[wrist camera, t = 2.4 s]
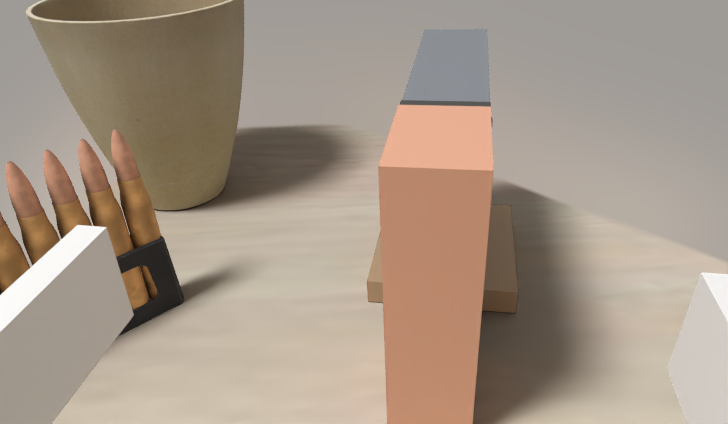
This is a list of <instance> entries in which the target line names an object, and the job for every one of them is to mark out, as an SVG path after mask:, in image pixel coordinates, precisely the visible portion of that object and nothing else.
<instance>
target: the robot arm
mask: <svg viewBox="0 0 728 424" xmlns="http://www.w3.org/2000/svg"><path fill="white" fill-rule="evenodd" d="M133 316H134V314H133V311H132V307H131V304H130V301H129V298H128V294H127V291H126V288H125V285H124V282H123V278H122V275H121V272H120V269H119V265H118V262H117V259H116V256H115V253H114V249H113V246H112V243H111V240H110V236H109V233H108V230H107V227H99V226H86V225H77V226H76V227H75V228H74V229H72V230H71V231H70V232H69V233H68V234H67V235H66V236H65V237H64V238H63V239H62V240H60V241H59V242H58V243H57V244H56V245H55V246H54V247H53V248H52V249H50V250H49V251H48V252H47V253H46V254H45V255H44V256H43V257H42V258H41V259H39V260H38V261H37V262H36V263H35V264H34V265H33V266H32V267H31V268H30V269H28V270H27V271H26V272H25V273H24V274H23V275H22V276H21V277H20V278H18V279H17V280H16V281H15V282H14V283H13V284H12V285H11V286H10V287H9V288H7V289H6V290H5V291H4V292H3V293H2V294H1V295H0V424H52V422H53V421H54V420H55V418H56V417H57V416H58V414H59V413H60V412H61V411H62V409H63V408H64V407H65V405H66V404H67V403H68V401H69V400H70V399H71V397H72V396H73V395H74V393H75V392H76V391H77V389H78V388H79V387H80V385H81V384H82V383H83V382H84V380H85V379H86V378H87V376H88V375H89V374H90V372H91V371H92V370H93V368H94V367H95V366H96V364H97V363H98V362H99V360H100V359H101V358H102V356H103V355H104V354H105V353H106V351H107V350H108V349H109V347H110V346H111V345H112V343H113V342H114V341H115V339H116V338H117V337H118V335H119V334H120V333H121V331H122V330H123V329H124V328H125V326H126V325H127V324H128V322H129V321H130V320H131V318H132V317H133ZM667 371H668V373H669V376H670V379H671V382H672V384H673V387H674V390H675V393H676V395H677V398H678V401H679V403H680V406H681V409H682V412H683V414H684V417H685V420H686V423H687V424H728V274H716V273H703V272H701V273H700V276H699V279H698V282H697V285H696V288H695V291H694V294H693V296H692V299H691V302H690V305H689V308H688V311H687V314H686V316H685V319H684V322H683V325H682V328H681V331H680V334H679V337H678V339H677V342H676V345H675V348H674V351H673V354H672V357H671V360H670V362H669V365H668V368H667Z"/></svg>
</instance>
